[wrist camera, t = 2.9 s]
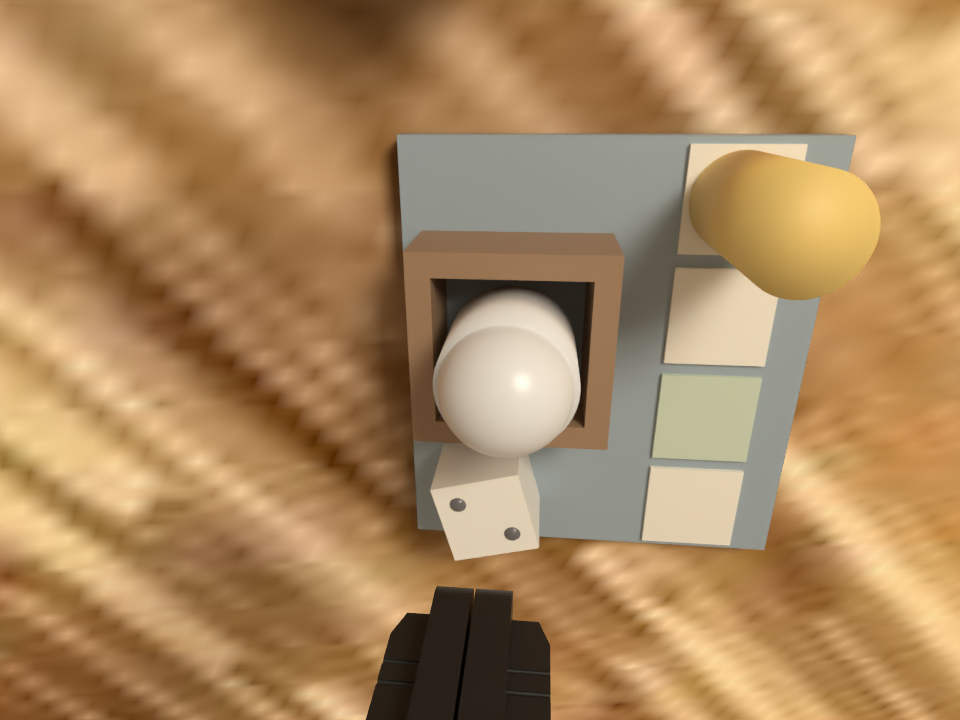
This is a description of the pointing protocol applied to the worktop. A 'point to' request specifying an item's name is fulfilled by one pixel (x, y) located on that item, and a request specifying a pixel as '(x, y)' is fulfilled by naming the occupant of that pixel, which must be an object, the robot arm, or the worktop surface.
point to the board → (614, 324)
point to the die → (486, 502)
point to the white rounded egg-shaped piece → (508, 372)
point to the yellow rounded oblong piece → (786, 221)
